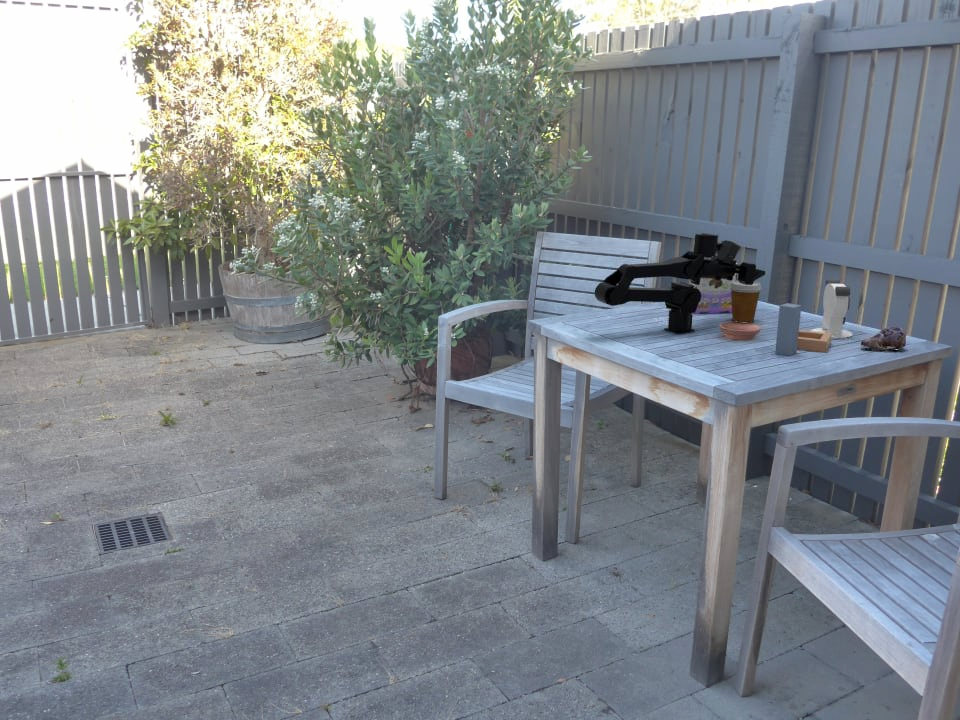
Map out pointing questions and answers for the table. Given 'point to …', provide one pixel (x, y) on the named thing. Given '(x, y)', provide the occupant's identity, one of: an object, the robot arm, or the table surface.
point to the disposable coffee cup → (744, 301)
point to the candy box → (714, 295)
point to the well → (814, 341)
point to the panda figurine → (835, 309)
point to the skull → (886, 339)
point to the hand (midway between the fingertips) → (755, 270)
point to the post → (788, 329)
